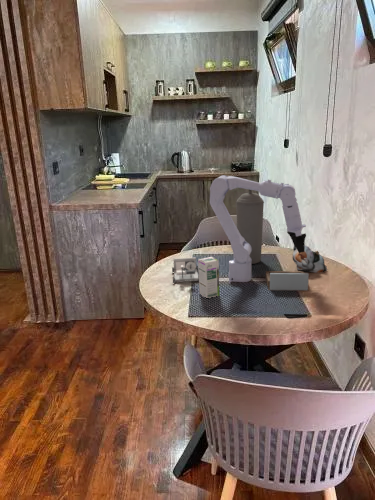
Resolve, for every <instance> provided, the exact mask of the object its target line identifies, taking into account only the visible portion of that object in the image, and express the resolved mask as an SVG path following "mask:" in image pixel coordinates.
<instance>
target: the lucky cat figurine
mask: <svg viewBox="0 0 375 500" xmlns="http://www.w3.org/2000/svg"><path fill="white" fill-rule="evenodd" d="M292 261H293V263H294V264H295V265H296V271H303V272H307V273H315V274H319V273H325V272H327V271H328V268H327V265H325V259H324V257H323V256H322V254H320V251H318V250H315V251H314V250H312V249H311V248H310V246H307V245H305V251H304V252H301V253H299V252H298V250H297V248H295V246H294V245H293V253H292Z"/></svg>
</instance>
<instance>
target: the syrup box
mask: <svg viewBox="0 0 375 500" xmlns="http://www.w3.org/2000/svg"><path fill="white" fill-rule="evenodd" d="M197 262H198V263H197V264H198V265H197V266H198V276H199V281H198V286H199V288H198V289H199V295H200V294H201V295H202V296H201V295H200V296H201V297H203V296H204V297H206V298H209V299H212V298H211V297H213V298H216V296H217V297H220V295H221V294H220V264H219V262H220V261H219V259H217V258H215V257H214V256H209V257H203V258H198V261H197ZM204 297H203V298H204ZM206 298H205V299H206Z"/></svg>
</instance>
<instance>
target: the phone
mask: <svg viewBox="0 0 375 500" xmlns="http://www.w3.org/2000/svg"><path fill="white" fill-rule="evenodd" d="M283 315H284V317H285V318H286V319H297V318H299V319H300V318H307V317H308V314H302V313H299V314H298V313H283Z"/></svg>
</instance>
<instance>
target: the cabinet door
mask: <svg viewBox="0 0 375 500" xmlns="http://www.w3.org/2000/svg"><path fill="white" fill-rule="evenodd" d="M309 276H310V275H309V272H304V273H270V290H269V291H291V290H308V289H309Z"/></svg>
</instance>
